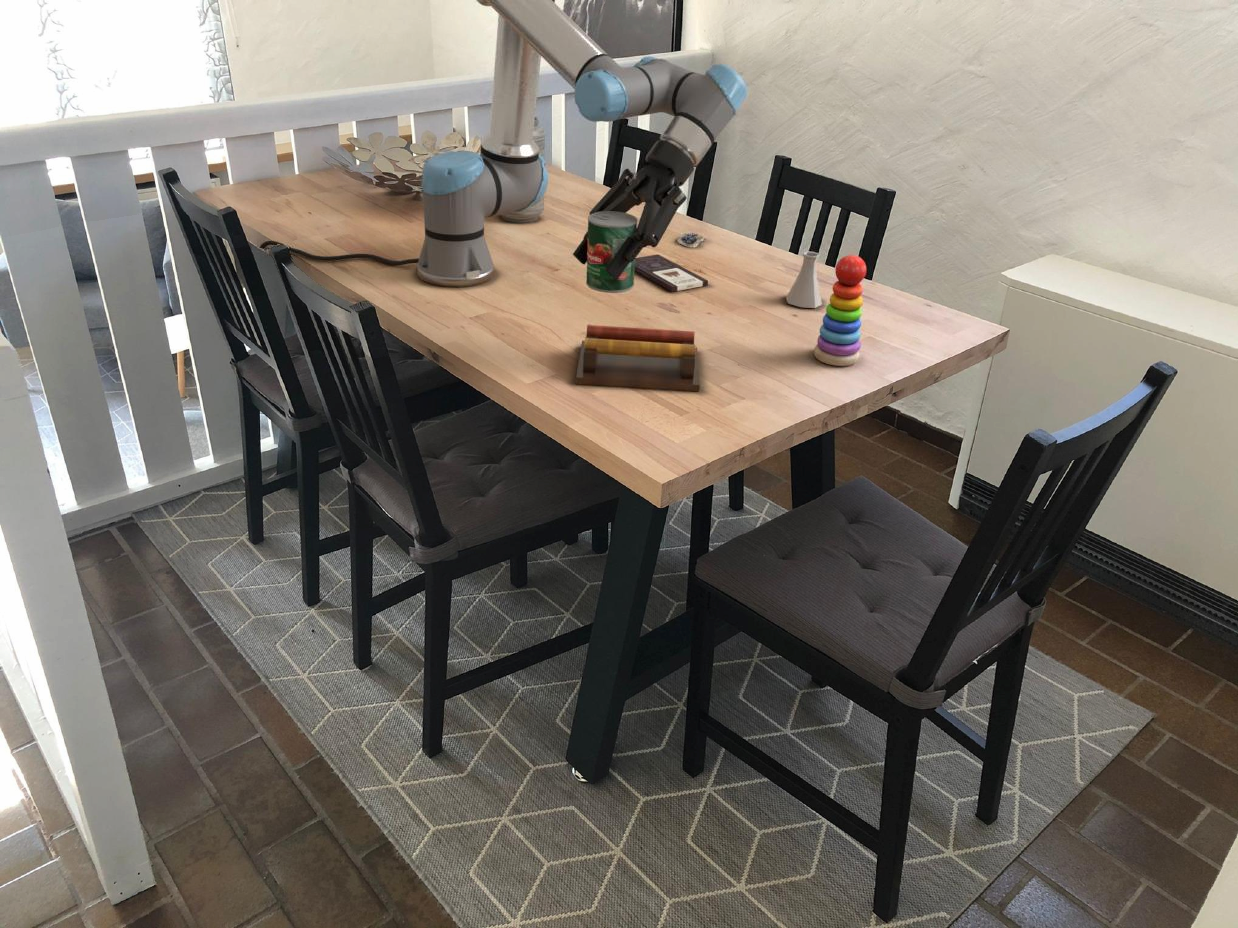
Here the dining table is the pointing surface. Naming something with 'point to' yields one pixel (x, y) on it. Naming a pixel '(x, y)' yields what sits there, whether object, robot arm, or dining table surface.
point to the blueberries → (690, 239)
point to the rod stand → (639, 358)
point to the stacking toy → (843, 315)
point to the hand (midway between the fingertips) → (594, 267)
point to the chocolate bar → (667, 273)
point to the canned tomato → (608, 250)
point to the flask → (806, 284)
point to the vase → (537, 209)
